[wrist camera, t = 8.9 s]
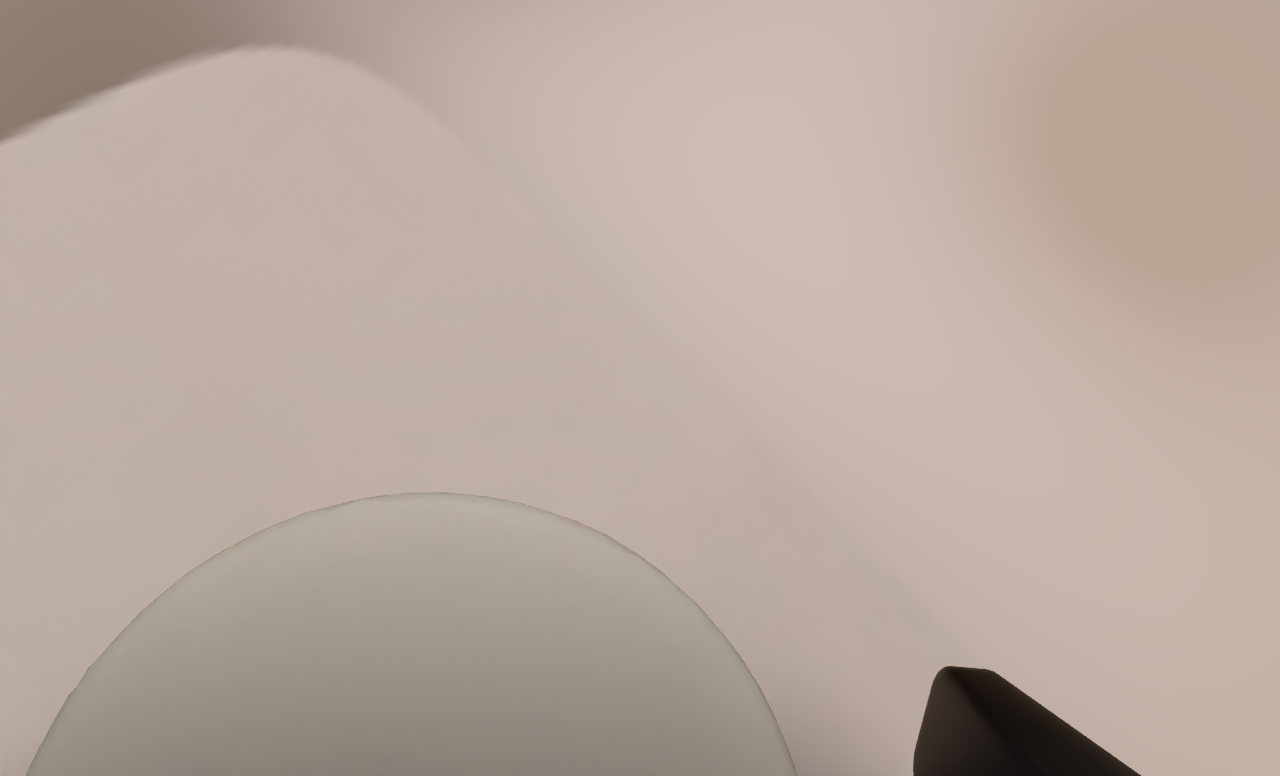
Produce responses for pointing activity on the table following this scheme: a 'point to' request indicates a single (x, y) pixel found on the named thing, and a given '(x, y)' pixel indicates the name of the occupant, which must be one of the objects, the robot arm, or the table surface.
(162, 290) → the table surface
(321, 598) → the pill bottle
